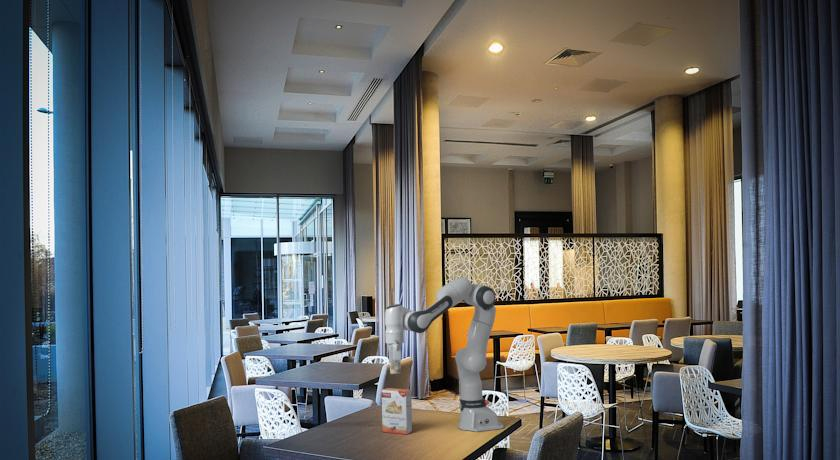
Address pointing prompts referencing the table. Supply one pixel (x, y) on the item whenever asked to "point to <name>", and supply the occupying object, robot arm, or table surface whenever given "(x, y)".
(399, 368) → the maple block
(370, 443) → the table surface
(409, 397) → the cracker box
